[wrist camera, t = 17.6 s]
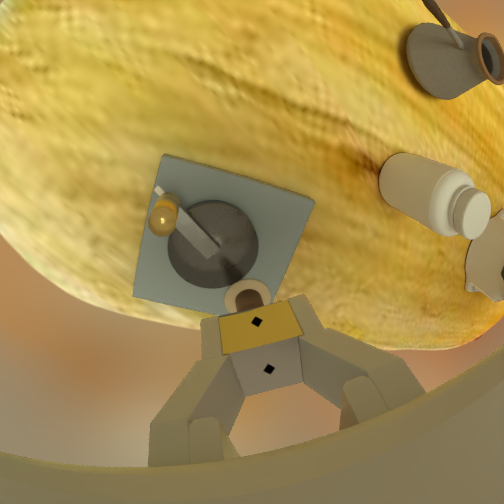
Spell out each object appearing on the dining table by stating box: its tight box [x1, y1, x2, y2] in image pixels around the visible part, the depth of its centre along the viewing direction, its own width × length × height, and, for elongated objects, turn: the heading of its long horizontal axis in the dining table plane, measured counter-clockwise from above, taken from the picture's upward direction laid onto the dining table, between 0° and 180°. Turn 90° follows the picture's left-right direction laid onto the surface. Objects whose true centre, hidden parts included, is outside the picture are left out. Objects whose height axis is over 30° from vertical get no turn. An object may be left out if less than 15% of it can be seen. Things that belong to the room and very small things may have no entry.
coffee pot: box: [406, 0, 504, 100], centre depth 22 cm, size 21×12×15 cm, turn 77°
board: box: [132, 154, 315, 315], centre depth 36 cm, size 18×18×2 cm
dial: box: [148, 192, 259, 289], centre depth 30 cm, size 10×13×8 cm
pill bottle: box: [379, 153, 491, 240], centre depth 30 cm, size 8×8×15 cm
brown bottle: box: [235, 289, 264, 312], centre depth 34 cm, size 3×3×9 cm
